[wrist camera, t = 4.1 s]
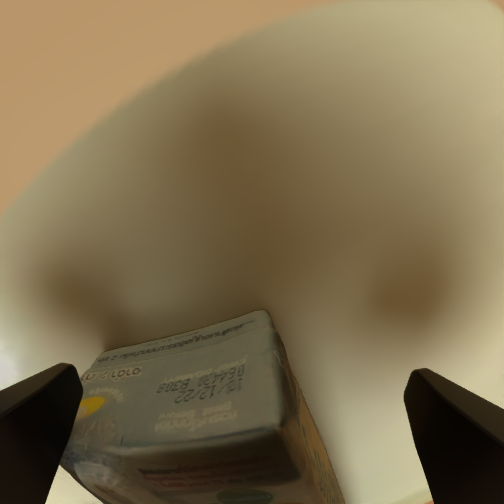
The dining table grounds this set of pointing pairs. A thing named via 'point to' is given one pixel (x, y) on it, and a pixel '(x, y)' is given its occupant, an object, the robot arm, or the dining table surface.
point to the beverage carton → (199, 423)
